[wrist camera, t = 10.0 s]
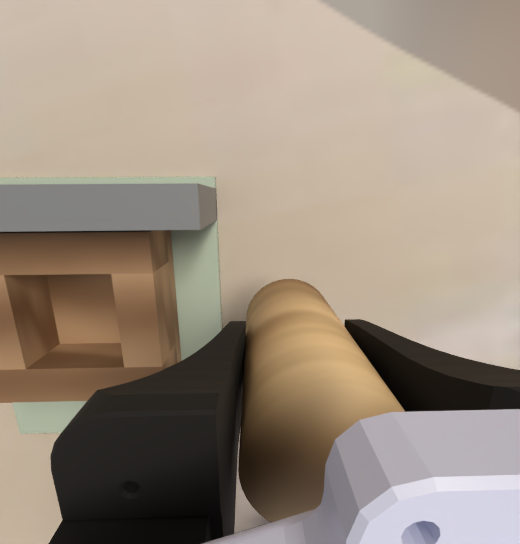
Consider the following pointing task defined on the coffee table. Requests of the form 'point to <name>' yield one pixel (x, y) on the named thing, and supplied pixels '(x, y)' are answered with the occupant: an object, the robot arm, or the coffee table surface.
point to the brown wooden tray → (84, 312)
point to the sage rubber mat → (189, 294)
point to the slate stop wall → (106, 207)
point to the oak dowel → (299, 396)
